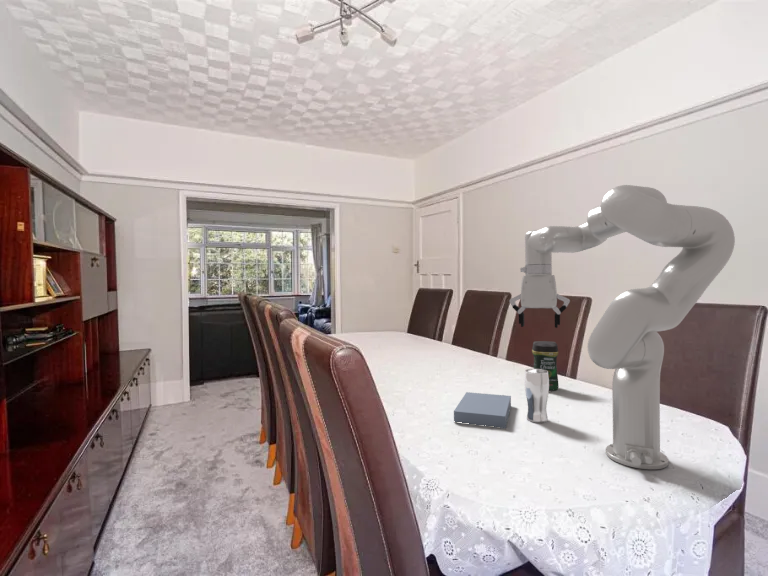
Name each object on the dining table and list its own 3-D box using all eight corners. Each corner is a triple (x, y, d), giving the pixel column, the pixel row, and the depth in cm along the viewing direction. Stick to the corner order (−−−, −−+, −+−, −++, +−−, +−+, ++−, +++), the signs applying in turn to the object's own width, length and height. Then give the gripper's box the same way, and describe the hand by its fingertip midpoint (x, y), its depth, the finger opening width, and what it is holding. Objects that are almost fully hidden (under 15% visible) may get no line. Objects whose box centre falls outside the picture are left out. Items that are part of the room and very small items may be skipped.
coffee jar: (533, 390, 156) (533, 342, 156) (531, 385, 164) (530, 339, 163) (560, 391, 154) (560, 343, 154) (556, 386, 162) (555, 340, 161)
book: (505, 430, 117) (505, 416, 117) (453, 424, 122) (453, 411, 122) (510, 407, 137) (510, 395, 137) (466, 403, 143) (466, 392, 143)
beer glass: (553, 419, 124) (552, 370, 123) (544, 425, 119) (543, 374, 118) (530, 414, 128) (530, 367, 128) (521, 420, 123) (520, 371, 123)
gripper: (507, 271, 124) (508, 327, 124) (569, 269, 116) (570, 329, 117) (510, 271, 130) (511, 324, 131) (569, 270, 123) (570, 326, 123)
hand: (539, 326), depth 124 cm, fingers open, 9 cm apart
